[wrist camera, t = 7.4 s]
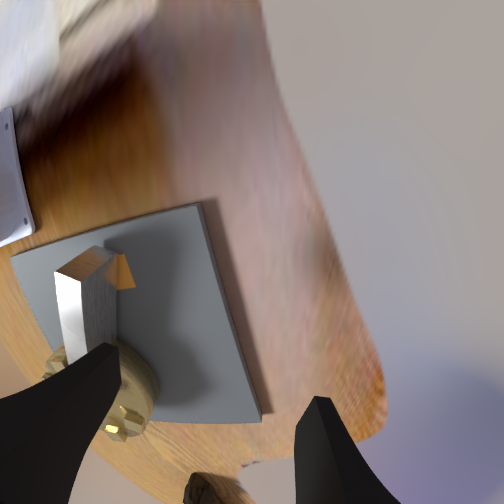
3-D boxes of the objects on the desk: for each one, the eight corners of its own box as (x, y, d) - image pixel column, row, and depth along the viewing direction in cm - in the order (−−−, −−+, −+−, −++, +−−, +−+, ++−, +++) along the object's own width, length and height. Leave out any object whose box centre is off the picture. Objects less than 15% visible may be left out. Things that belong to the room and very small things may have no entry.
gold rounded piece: (158, 420, 19) (143, 458, 16) (74, 384, 19) (52, 415, 16) (172, 269, 14) (139, 310, 11) (54, 231, 14) (8, 255, 11)
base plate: (15, 254, 17) (8, 258, 16) (200, 202, 14) (195, 205, 13) (97, 407, 22) (93, 413, 21) (262, 414, 20) (261, 423, 19)
